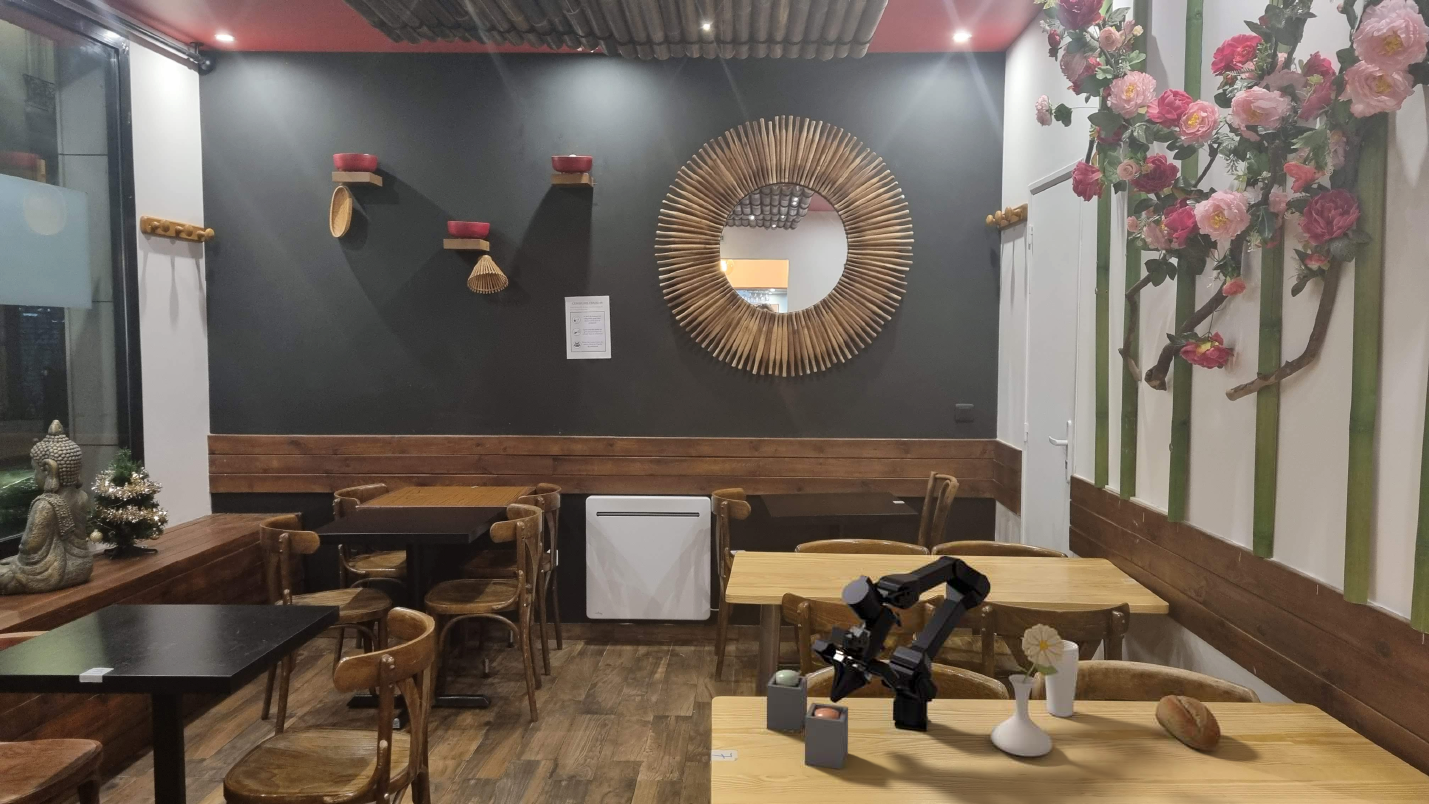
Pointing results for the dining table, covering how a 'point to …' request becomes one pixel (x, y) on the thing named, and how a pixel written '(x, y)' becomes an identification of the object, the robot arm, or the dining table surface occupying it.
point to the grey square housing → (826, 737)
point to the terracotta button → (827, 713)
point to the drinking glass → (1063, 682)
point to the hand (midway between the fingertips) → (832, 701)
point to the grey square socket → (786, 705)
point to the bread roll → (1189, 721)
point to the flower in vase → (1020, 729)
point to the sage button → (787, 678)
